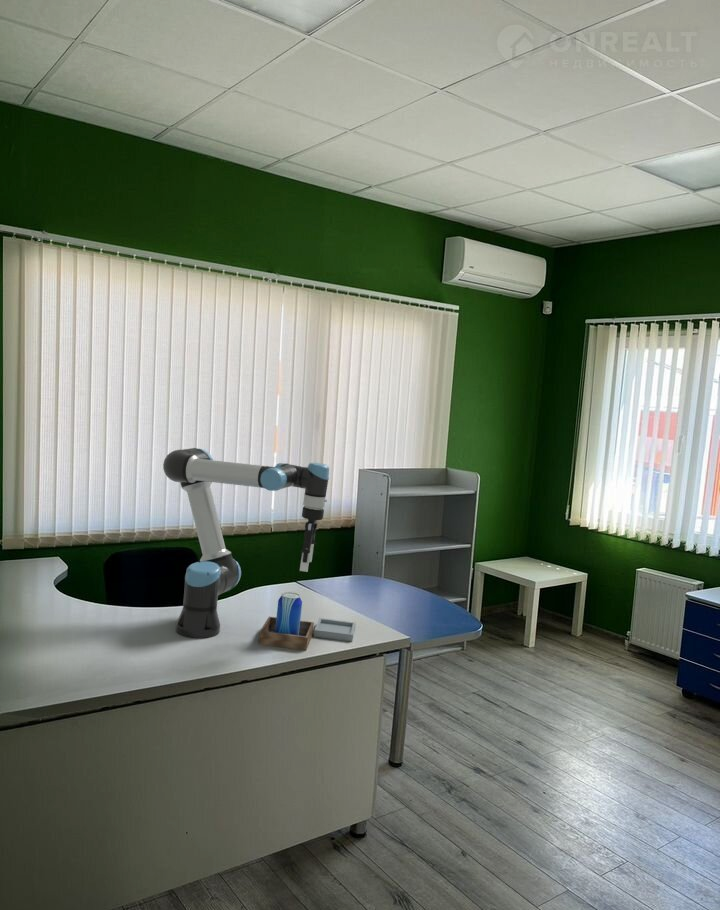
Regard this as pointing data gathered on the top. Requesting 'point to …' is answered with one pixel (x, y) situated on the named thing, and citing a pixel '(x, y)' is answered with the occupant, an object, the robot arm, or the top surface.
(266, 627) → the crate
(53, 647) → the top surface
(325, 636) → the tray
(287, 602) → the beer can
